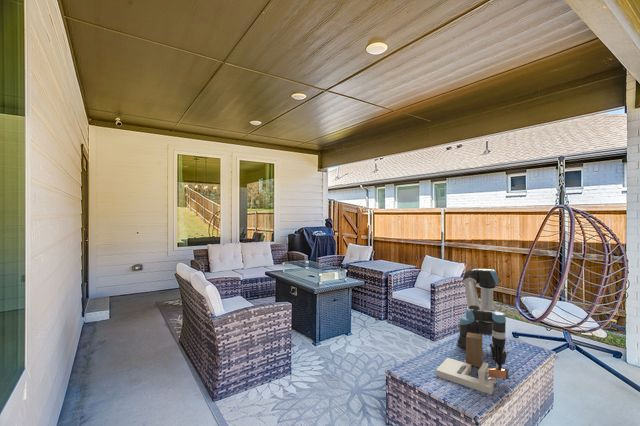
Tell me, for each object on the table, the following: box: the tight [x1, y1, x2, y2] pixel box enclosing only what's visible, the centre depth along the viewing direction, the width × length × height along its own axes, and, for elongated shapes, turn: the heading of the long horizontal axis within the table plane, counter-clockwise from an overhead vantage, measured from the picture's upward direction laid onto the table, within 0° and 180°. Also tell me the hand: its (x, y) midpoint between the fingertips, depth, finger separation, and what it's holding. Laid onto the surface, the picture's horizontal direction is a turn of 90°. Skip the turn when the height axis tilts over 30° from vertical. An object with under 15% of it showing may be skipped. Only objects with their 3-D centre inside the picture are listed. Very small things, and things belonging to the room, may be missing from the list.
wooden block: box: [465, 332, 484, 368], centre depth 221 cm, size 10×10×20 cm
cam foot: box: [476, 367, 509, 386], centre depth 197 cm, size 18×10×9 cm, turn 81°
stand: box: [435, 357, 495, 396], centre depth 203 cm, size 22×33×12 cm, turn 49°
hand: (498, 373), depth 199 cm, fingers closed
